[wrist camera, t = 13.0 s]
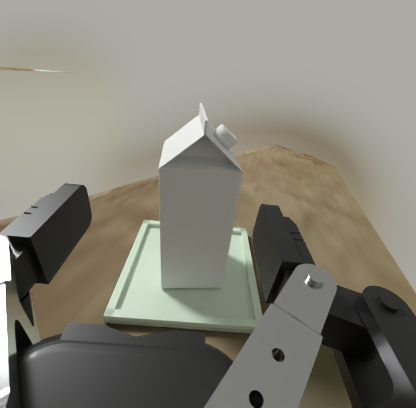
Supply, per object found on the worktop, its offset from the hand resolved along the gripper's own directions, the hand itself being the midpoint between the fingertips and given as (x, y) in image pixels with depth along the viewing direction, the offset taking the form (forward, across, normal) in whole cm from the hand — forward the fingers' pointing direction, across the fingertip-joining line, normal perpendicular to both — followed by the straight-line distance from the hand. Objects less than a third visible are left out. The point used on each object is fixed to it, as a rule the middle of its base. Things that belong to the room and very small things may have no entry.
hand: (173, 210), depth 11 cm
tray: (+12, -1, +18) cm, 21 cm away
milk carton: (+12, -1, +17) cm, 21 cm away
